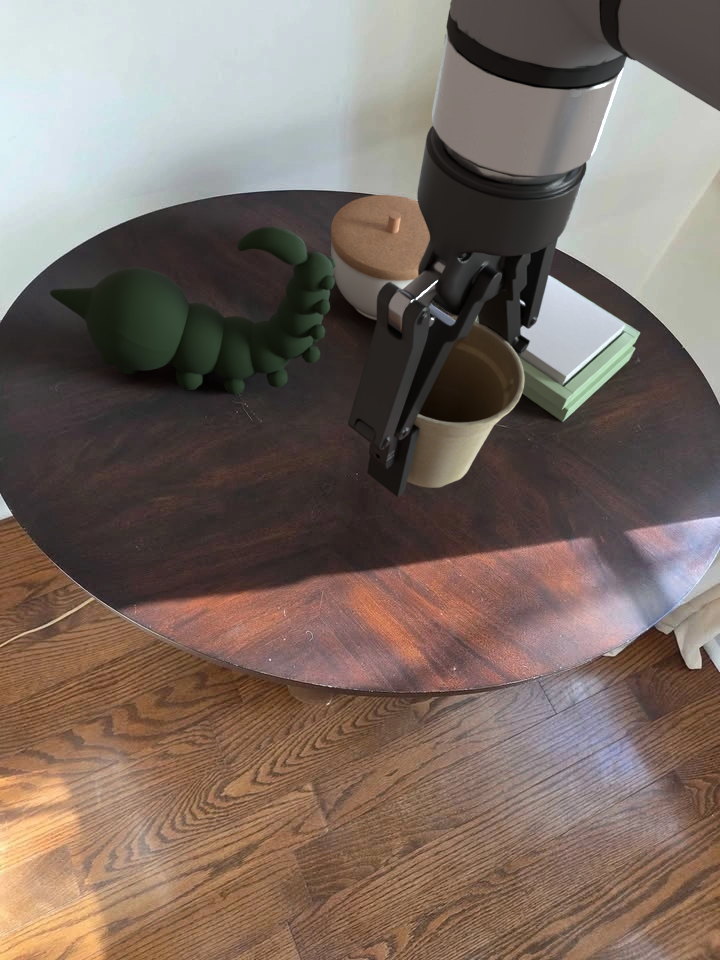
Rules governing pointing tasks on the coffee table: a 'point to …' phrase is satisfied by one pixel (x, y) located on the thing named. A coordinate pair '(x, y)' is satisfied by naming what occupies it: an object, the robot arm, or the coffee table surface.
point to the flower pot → (465, 406)
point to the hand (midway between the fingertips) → (429, 444)
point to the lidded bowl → (376, 247)
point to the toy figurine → (207, 320)
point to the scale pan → (567, 333)
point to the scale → (578, 376)
